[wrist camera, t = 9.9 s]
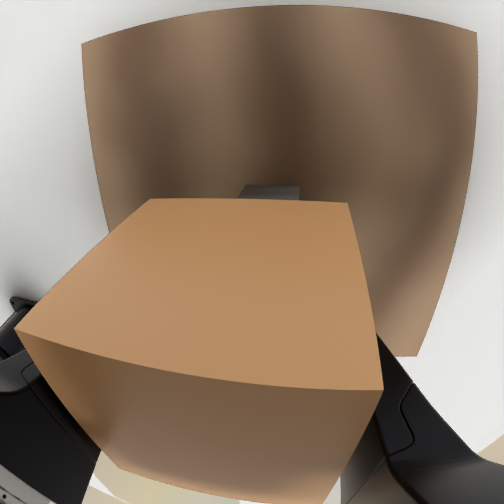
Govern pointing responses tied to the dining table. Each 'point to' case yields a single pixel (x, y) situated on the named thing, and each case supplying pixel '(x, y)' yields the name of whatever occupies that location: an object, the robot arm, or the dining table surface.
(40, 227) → the dining table surface
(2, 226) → the dining table surface
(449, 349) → the dining table surface
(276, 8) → the wooden base with peg
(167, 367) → the peach wooden cube
